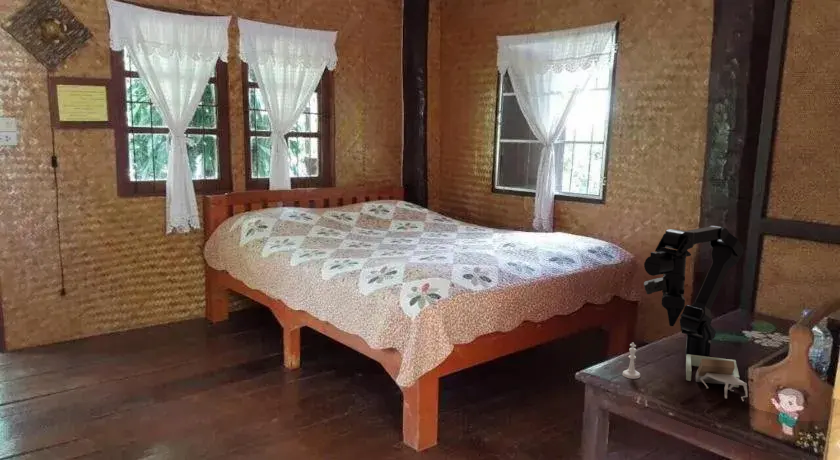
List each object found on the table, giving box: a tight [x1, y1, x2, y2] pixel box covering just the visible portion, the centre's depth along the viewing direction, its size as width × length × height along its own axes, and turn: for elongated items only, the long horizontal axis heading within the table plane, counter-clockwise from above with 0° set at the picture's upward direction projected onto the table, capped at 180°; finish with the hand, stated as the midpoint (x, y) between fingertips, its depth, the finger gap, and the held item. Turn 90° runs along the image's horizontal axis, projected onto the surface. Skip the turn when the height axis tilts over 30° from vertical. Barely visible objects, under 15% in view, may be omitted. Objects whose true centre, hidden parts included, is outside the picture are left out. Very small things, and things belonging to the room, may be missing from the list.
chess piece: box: [622, 342, 641, 380], centre depth 181 cm, size 5×5×10 cm
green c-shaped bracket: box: [685, 354, 740, 388], centre depth 181 cm, size 13×14×3 cm
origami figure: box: [700, 373, 749, 402], centre depth 169 cm, size 12×8×5 cm
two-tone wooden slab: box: [694, 359, 735, 385], centre depth 173 cm, size 8×2×10 cm
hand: (671, 321), depth 189 cm, fingers open, 9 cm apart
